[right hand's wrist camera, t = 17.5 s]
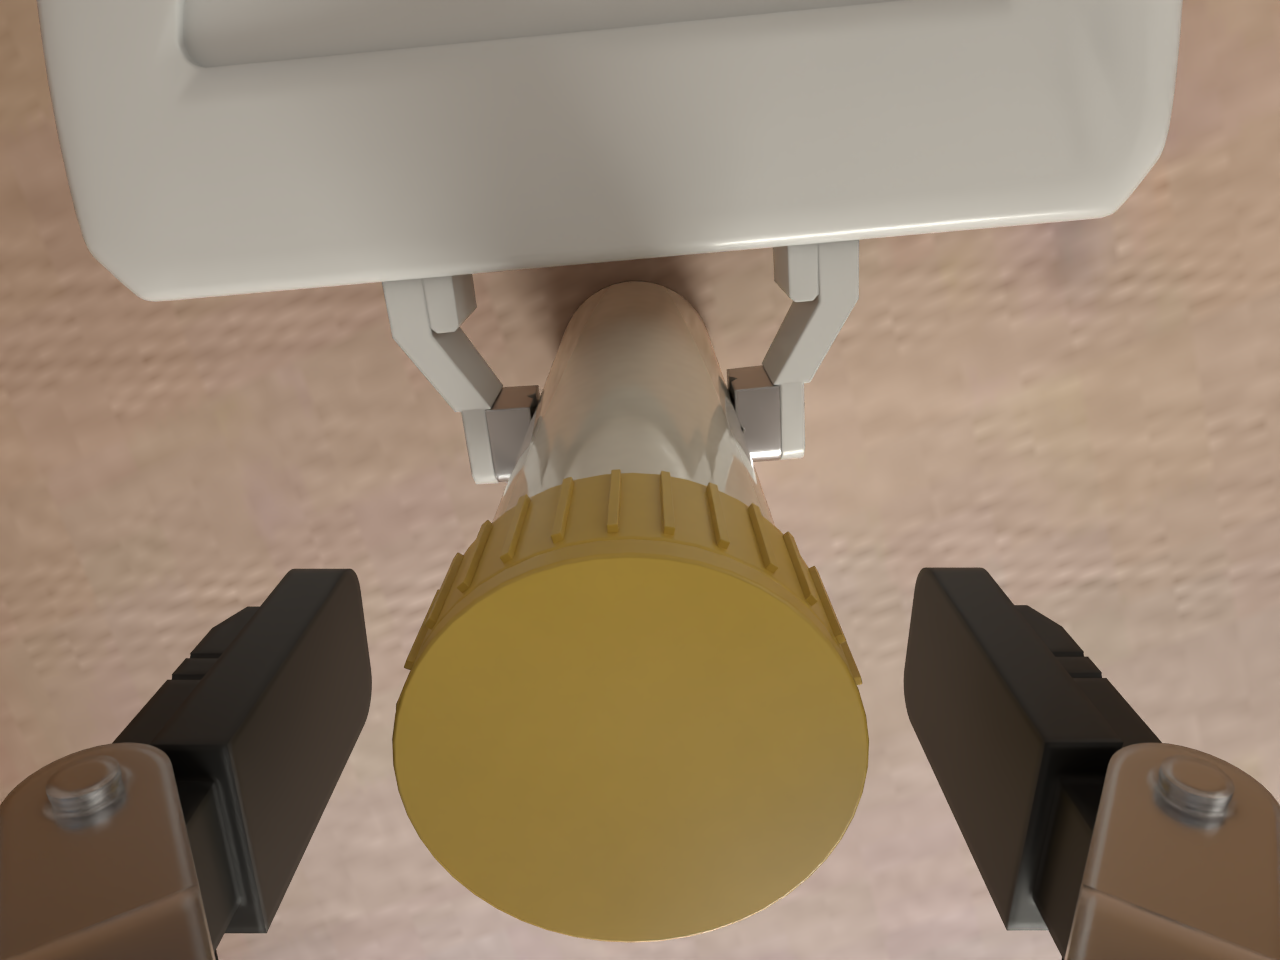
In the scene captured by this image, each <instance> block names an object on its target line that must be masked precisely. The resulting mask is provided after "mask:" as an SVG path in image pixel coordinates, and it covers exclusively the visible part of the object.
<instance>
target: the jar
mask: <svg viewBox="0 0 1280 960" xmlns="http://www.w3.org/2000/svg"><path fill="white" fill-rule="evenodd" d="M616 469H620V470H621V473H644V474H660V473H661V471H666V472H670V476H671V477H676V478H681V479H686V480H690V481H693V482H696V483H699V484H702V485H705V486H707V485H708V483H709V482H710V483H713V484H716V485H717V486H718V490H719V491H721V492H723V493H725V494H727V495H729V496H731V497H734V498H736V499H738V500H739V501H741V502H742V503H744V504H746V505H747V506H750V505H751V504H752V503H753V504H755V505H756V506H758V507H759V508H760V511H761V514H762V516H763V517H764V518H766V519H767V520H768V521H769V522H770V523H772V524H773V525H774V526H775V524H774V521H773V518H772V515H771V512H770V510H769V507H768V504H767V501H766V498H765V495H764V492H763V490H762V487H761V484H760V481H759V478H758V475H757V472H756V469H755V467H754V464H753V461H752V458H751V455H750V452H749V449H748V447H747V444H746V441H745V438H744V435H743V432H742V429H741V426H740V424H739V421H738V418H737V415H736V412H735V409H734V406H733V403H732V401H731V398H730V395H729V392H728V389H727V386H726V383H725V381H724V378H723V375H722V372H721V369H720V366H719V363H718V360H717V358H716V355H715V352H714V349H713V346H712V343H711V340H710V338H709V335H708V332H707V329H706V326H705V324H704V322H703V320H702V318H701V317H700V315H699V314H698V312H697V311H696V310H695V308H694V307H693V306H692V305H691V304H690V303H689V302H688V301H687V300H686V299H684V298H683V297H682V296H681V295H679V294H678V293H676V292H674V291H673V290H671V289H669V288H666V287H664V286H661V285H658V284H655V283H650V282H643V281H630V282H622V283H618V284H614V285H611V286H609V287H606V288H604V289H602V290H600V291H598V292H596V293H595V294H593V295H592V296H591V297H589V298H588V299H587V300H586V301H585V302H584V303H583V304H581V305H580V307H579V308H578V309H577V310H576V312H575V313H574V314H573V316H572V318H571V319H570V321H569V323H568V325H567V328H566V330H565V333H564V335H563V338H562V341H561V343H560V346H559V348H558V351H557V354H556V356H555V359H554V362H553V364H552V367H551V369H550V372H549V375H548V377H547V380H546V383H545V385H544V388H543V390H542V393H541V396H540V398H539V401H538V404H537V406H536V409H535V411H534V414H533V417H532V419H531V422H530V425H529V427H528V430H527V433H526V435H525V438H524V440H523V443H522V446H521V448H520V451H519V454H518V456H517V459H516V461H515V464H514V467H513V469H512V472H511V475H510V477H509V480H508V482H507V485H506V488H505V490H504V493H503V496H502V498H501V501H500V504H499V506H498V509H497V511H496V514H495V517H494V519H493V522H494V521H496V520H497V519H498V518H499V517H500V516H502V515H503V514H504V513H505V512H507V511H508V510H510V509H512V508H513V507H515V506H516V505H517V503H518V500H519V498H520V497H522V496H524V495H526V494H527V495H528V497H529V498H530V497H532V496H534V495H536V494H538V493H541V492H543V491H545V490H547V489H549V488H551V487H555V486H558V485H561V484H562V482H563V479H565V478H569V477H572V479H573V481H574V480H577V479H582V478H587V477H593V476H598V475H604V474H611V470H616ZM493 522H492V523H493Z"/></svg>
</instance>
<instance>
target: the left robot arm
mask: <svg viewBox="0 0 1280 960" xmlns="http://www.w3.org/2000/svg"><path fill="white" fill-rule="evenodd" d="M1182 3H1183V0H37V7H38V14H39V22H40V29H41V37H42V44H43V51H44V58H45V65H46V71H47V78H48V84H49V90H50V95H51V100H52V106H53V111H54V117H55V122H56V127H57V133H58V138H59V142H60V147H61V152H62V157H63V161H64V166H65V171H66V175H67V179H68V184H69V188H70V192H71V196H72V200H73V204H74V208H75V212H76V216H77V220H78V223H79V226H80V229H81V232H82V236H83V239H84V241H85V243H86V245H87V248H88V250H89V251H90V253H91V254H92V256H93V257H94V258H95V259H96V260H97V261H98V262H99V263H101V264H102V265H103V266H104V267H105V268H106V269H107V270H108V271H109V272H110V273H111V274H112V275H114V276H115V277H116V278H117V279H118V280H119V281H120V282H121V283H122V284H123V285H125V286H126V287H127V288H128V289H129V290H131V291H132V292H133V293H134V294H135V295H137V296H138V297H139V298H141V299H144V300H146V301H153V302H158V301H172V300H183V299H194V298H205V297H217V296H228V295H239V294H251V293H262V292H273V291H284V290H296V289H307V288H318V287H329V286H341V285H352V284H363V283H375V282H382V285H383V290H384V295H385V301H386V306H387V311H388V316H389V322H390V327H391V332H392V337H393V339H394V340H395V341H396V343H397V344H398V345H399V346H400V347H401V349H402V350H403V351H404V352H405V353H406V355H407V356H408V357H409V358H410V359H411V360H412V362H413V363H414V364H415V365H416V366H417V368H418V369H419V370H420V371H421V372H422V373H423V375H424V376H425V377H426V378H427V379H428V381H429V382H430V383H431V384H432V385H433V387H434V388H435V389H436V390H437V391H438V392H439V394H440V395H441V396H442V397H443V398H444V400H445V401H446V402H447V403H448V404H449V405H450V407H451V408H452V409H453V410H454V411H455V412H461V414H462V420H463V426H464V432H465V438H466V443H467V449H468V455H469V461H470V467H471V473H472V477H473V479H474V481H475V483H476V484H492V483H499V482H505V481H508V480H509V477H510V475H511V472H512V469H513V467H514V464H515V461H516V459H517V456H518V454H519V451H520V448H521V446H522V443H523V440H524V438H525V435H526V433H527V430H528V427H529V425H530V422H531V419H532V417H533V414H534V411H535V409H536V406H537V404H538V401H539V398H540V394H539V387H538V385H534V386H517V387H503V385H502V383H501V382H500V381H499V379H498V378H497V377H496V375H495V374H494V373H493V371H492V370H491V368H490V367H489V366H488V364H487V363H486V362H485V360H484V359H483V358H482V356H481V355H480V354H479V352H478V351H477V350H476V348H475V347H474V346H473V344H472V343H471V341H470V340H469V339H468V337H467V336H466V335H465V333H464V332H463V331H462V329H461V328H460V327H459V326H460V325H461V324H462V323H463V322H464V321H465V320H466V319H467V318H468V317H469V315H470V314H471V313H472V312H473V311H474V310H475V309H476V308H477V305H476V298H475V291H474V284H473V277H472V274H476V273H487V272H499V271H510V270H521V269H532V268H544V267H555V266H566V265H578V264H589V263H600V262H611V261H623V260H634V259H645V258H657V257H668V256H679V255H690V254H702V253H713V252H724V251H735V250H747V249H758V248H769V247H773V260H774V281H775V282H776V283H777V284H778V285H779V287H780V288H781V289H782V290H783V291H784V292H785V293H786V294H787V295H788V296H789V298H791V299H792V300H793V303H792V305H791V307H790V309H789V311H788V313H787V315H786V317H785V319H784V321H783V322H782V324H781V326H780V328H779V330H778V332H777V334H776V336H775V338H774V340H773V342H772V344H771V346H770V348H769V350H768V352H767V354H766V356H765V358H764V360H763V362H762V364H763V365H762V366H753V367H744V368H734V369H727V387H728V392H729V395H730V398H731V401H732V403H733V406H734V409H735V412H736V415H737V418H738V421H739V424H740V426H741V429H742V432H743V435H744V438H745V441H746V444H747V447H748V449H749V452H750V455H751V458H752V461H753V462H758V461H772V460H784V459H796V458H803V456H804V450H805V414H804V383H809V382H810V381H811V380H812V378H813V376H814V375H815V373H816V371H817V369H818V368H819V366H820V364H821V362H822V361H823V359H824V357H825V356H826V354H827V352H828V350H829V349H830V347H831V345H832V343H833V342H834V340H835V338H836V337H837V335H838V333H839V331H840V330H841V328H842V326H843V324H844V323H845V321H846V319H847V318H848V316H849V314H850V312H851V311H852V309H853V307H854V306H855V304H856V302H857V300H858V299H859V240H860V239H871V238H882V237H893V236H905V235H916V234H927V233H938V232H950V231H961V230H972V229H984V228H995V227H1006V226H1017V225H1029V224H1040V223H1051V222H1062V221H1073V220H1084V219H1095V218H1103V217H1106V216H1109V215H1111V214H1113V213H1114V212H1115V211H1117V210H1118V209H1119V208H1120V207H1121V206H1122V204H1123V203H1124V202H1125V201H1126V200H1127V199H1128V198H1129V197H1130V196H1131V194H1132V193H1133V192H1134V190H1135V189H1136V188H1137V187H1138V185H1139V184H1140V183H1141V182H1142V180H1143V179H1144V178H1145V176H1146V175H1147V174H1148V172H1149V171H1150V170H1151V169H1152V167H1153V166H1154V165H1155V163H1156V162H1157V161H1158V159H1159V157H1160V155H1161V153H1162V151H1163V149H1164V146H1165V142H1166V138H1167V135H1168V131H1169V126H1170V120H1171V113H1172V107H1173V99H1174V92H1175V83H1176V74H1177V64H1178V53H1179V43H1180V31H1181V17H1182Z"/></svg>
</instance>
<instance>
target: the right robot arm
mask: <svg viewBox="0 0 1280 960" xmlns="http://www.w3.org/2000/svg"><path fill="white" fill-rule="evenodd" d="M1083 653H1084V652H1083V650H1082V649H1081V648H1080V647H1079V646H1078V645H1077V643H1076V642H1075V641H1074V640H1073V639H1072V638H1071V637H1070V635H1069V634H1068V633H1067V632H1066V631H1065V630H1064V628H1063V627H1062V626H1060V625H1058V624H1057V623H1055V622H1054V621H1052V620H1050V619H1049V618H1047V617H1045V616H1044V615H1042V614H1040V613H1039V612H1037V611H1036V610H1034V609H1032V608H1031V607H1029V606H1027V605H1014V604H1013V603H1012V602H1011V601H1010V599H1009V598H1008V597H1007V596H1006V594H1005V593H1004V592H1003V591H1002V589H1001V588H1000V587H999V586H998V584H997V583H996V582H995V581H994V579H993V578H992V577H991V576H990V574H989V573H988V572H987V571H986V570H985V569H983V568H923V569H922V570H921V571H920V573H919V574H918V577H917V580H916V585H915V592H914V599H913V607H912V615H911V623H910V630H909V638H908V646H907V654H906V662H905V669H904V695H905V703H906V708H907V712H908V716H909V719H910V722H911V724H912V726H913V728H914V730H915V733H916V735H917V737H918V739H919V741H920V743H921V746H922V748H923V750H924V752H925V754H926V756H927V759H928V761H929V763H930V765H931V767H932V769H933V772H934V774H935V776H936V778H937V780H938V782H939V785H940V787H941V789H942V791H943V793H944V795H945V797H946V800H947V802H948V804H949V806H950V808H951V810H952V813H953V815H954V817H955V819H956V821H957V823H958V826H959V828H960V830H961V832H962V834H963V836H964V839H965V841H966V843H967V845H968V847H969V849H970V852H971V854H972V856H973V858H974V860H975V862H976V865H977V867H978V869H979V871H980V873H981V875H982V878H983V880H984V882H985V884H986V886H987V888H988V891H989V893H990V895H991V897H992V899H993V901H994V904H995V906H996V908H997V910H998V912H999V914H1000V917H1001V919H1002V921H1003V923H1004V925H1005V927H1006V929H1007V930H1049V932H1050V934H1051V936H1052V938H1053V940H1054V942H1055V944H1056V946H1057V948H1058V950H1059V952H1060V953H1061V955H1062V960H1280V806H1279V804H1278V802H1277V801H1276V800H1275V798H1274V797H1273V796H1272V794H1271V793H1270V792H1269V791H1268V790H1267V789H1266V788H1265V787H1264V786H1263V785H1262V784H1260V783H1259V782H1258V781H1256V780H1255V779H1254V778H1253V777H1251V776H1250V775H1248V774H1247V773H1245V772H1244V771H1242V770H1241V769H1239V768H1237V767H1235V766H1233V765H1232V764H1230V763H1228V762H1226V761H1224V760H1221V759H1219V758H1217V757H1215V756H1212V755H1210V754H1207V753H1204V752H1201V751H1198V750H1195V749H1191V748H1187V747H1184V746H1179V745H1173V744H1166V743H1162V742H1161V741H1160V740H1159V739H1158V738H1157V736H1156V735H1155V734H1154V733H1153V732H1152V731H1151V729H1150V728H1149V727H1148V726H1147V725H1146V724H1145V722H1144V721H1143V720H1142V719H1141V718H1140V717H1139V716H1138V714H1137V713H1136V712H1135V711H1134V710H1133V709H1132V707H1131V706H1130V705H1129V704H1128V703H1127V702H1126V700H1125V699H1124V698H1123V697H1122V696H1121V695H1120V693H1119V692H1118V691H1117V690H1116V689H1115V688H1114V686H1113V685H1112V684H1111V683H1110V682H1109V681H1108V680H1107V678H1102V675H1101V674H1102V673H1101V671H1100V670H1099V669H1098V668H1097V667H1096V666H1095V664H1094V663H1093V662H1092V661H1091V660H1090V659H1089V657H1084V654H1083ZM190 654H191V656H190V658H186V659H185V660H184V661H183V662H182V664H181V665H180V666H179V667H178V668H177V669H176V671H175V672H174V673H173V674H172V680H167V681H166V682H165V683H164V684H163V685H162V687H161V688H160V689H159V690H158V691H157V692H156V694H155V695H154V696H153V697H152V698H151V699H150V700H149V702H148V703H147V704H146V705H145V706H144V707H143V708H142V710H141V711H140V712H139V713H138V714H137V715H136V717H135V718H134V719H133V720H132V721H131V722H130V723H129V725H128V726H127V727H126V728H125V729H124V730H123V731H122V733H121V734H120V735H119V736H118V737H117V738H116V740H115V741H114V742H113V743H112V744H107V745H101V746H96V747H93V748H89V749H85V750H82V751H79V752H76V753H73V754H70V755H68V756H65V757H63V758H61V759H58V760H56V761H54V762H52V763H50V764H48V765H47V766H45V767H43V768H41V769H39V770H38V771H36V772H35V773H33V774H32V775H30V776H29V777H27V778H26V779H25V780H24V781H22V782H21V783H20V784H18V785H17V786H16V787H15V788H14V789H13V790H12V791H11V792H10V793H9V794H8V796H7V797H6V798H5V800H4V801H3V802H2V804H1V806H0V960H218V956H217V952H216V948H217V946H218V944H219V942H220V941H221V939H222V937H223V935H224V933H267V931H268V929H269V927H270V925H271V923H272V920H273V918H274V916H275V914H276V912H277V910H278V908H279V905H280V903H281V901H282V899H283V897H284V895H285V893H286V891H287V888H288V886H289V884H290V882H291V880H292V878H293V876H294V873H295V871H296V869H297V867H298V865H299V863H300V861H301V859H302V856H303V854H304V852H305V850H306V848H307V846H308V844H309V841H310V839H311V837H312V835H313V833H314V831H315V829H316V827H317V824H318V822H319V820H320V818H321V816H322V814H323V812H324V809H325V807H326V805H327V803H328V801H329V799H330V797H331V795H332V792H333V790H334V788H335V786H336V784H337V782H338V780H339V777H340V775H341V773H342V771H343V769H344V767H345V765H346V763H347V760H348V758H349V756H350V754H351V752H352V750H353V748H354V745H355V743H356V741H357V739H358V737H359V735H360V733H361V731H362V728H363V726H364V724H365V722H366V719H367V716H368V712H369V707H370V701H371V690H372V676H371V667H370V659H369V651H368V644H367V636H366V629H365V621H364V613H363V606H362V598H361V590H360V584H359V581H358V578H357V575H356V573H355V572H354V571H353V570H352V569H292V570H290V571H289V572H288V573H287V574H286V575H285V577H284V578H283V579H282V580H281V581H280V583H279V584H278V585H277V586H276V588H275V589H274V590H273V591H272V593H271V594H270V595H269V596H268V598H267V599H266V600H265V601H264V603H263V604H262V605H261V606H260V607H246V608H245V609H243V610H241V611H240V612H238V613H236V614H235V615H233V616H231V617H230V618H228V619H227V620H225V621H223V622H222V623H220V624H218V625H217V626H215V627H213V628H212V629H211V630H210V631H209V633H208V634H207V635H206V636H205V637H204V638H203V639H202V641H201V642H200V643H199V644H198V645H197V646H196V648H195V649H194V650H193V651H192V652H191V653H190Z"/></svg>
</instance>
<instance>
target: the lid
mask: <svg viewBox="0 0 1280 960" xmlns="http://www.w3.org/2000/svg"><path fill="white" fill-rule="evenodd" d="M404 668H406V669H409V670H411V671H410V673H409V675H408V677H407V680H406V682H405V684H404V687H403V690H402V692H401V694H400V697H399V699H398V701H397V704H396V714H395V722H394V730H393V738H392V743H393V765H394V770H395V775H396V780H397V785H398V790H399V793H400V796H401V799H402V802H403V804H404V807H405V810H406V812H407V815H408V817H409V819H410V821H411V823H412V824H413V826H414V828H415V830H416V832H417V834H418V835H419V837H420V839H421V840H422V841H423V843H424V844H425V846H426V847H427V848H428V850H429V851H430V852H431V854H432V855H433V856H434V858H435V859H436V860H437V861H438V862H439V863H440V864H441V865H442V866H443V867H444V868H445V869H446V870H447V871H448V872H449V873H450V874H451V876H452V877H453V878H455V879H456V880H457V881H458V882H460V883H461V884H462V885H463V886H465V887H466V888H467V889H468V890H470V891H471V892H472V893H473V894H475V895H476V896H478V897H479V898H481V899H482V900H484V901H486V902H487V903H489V904H490V905H492V906H494V907H495V908H497V909H499V910H501V911H503V912H505V913H507V914H509V915H511V916H513V917H515V918H517V919H519V920H521V921H524V922H527V923H529V924H532V925H535V926H538V927H540V928H543V929H546V930H549V931H553V932H557V933H561V934H565V935H569V936H573V937H579V938H585V939H592V940H599V941H611V942H630V943H631V942H653V941H664V940H671V939H678V938H685V937H689V936H693V935H698V934H702V933H706V932H710V931H714V930H717V929H719V928H722V927H725V926H728V925H730V924H733V923H736V922H739V921H741V920H743V919H745V918H747V917H749V916H752V915H754V914H756V913H758V912H760V911H762V910H764V909H766V908H767V907H769V906H770V905H772V904H774V903H775V902H777V901H778V900H780V899H782V898H783V897H785V896H786V895H788V894H789V893H790V892H792V891H793V890H794V889H795V888H797V887H798V886H799V885H800V884H801V883H803V882H804V881H805V880H806V879H808V878H809V877H810V876H811V875H812V874H813V873H814V872H815V871H816V869H817V868H818V867H819V866H820V865H821V864H822V863H823V862H824V861H825V860H826V859H827V858H828V856H829V855H830V854H831V852H832V851H833V850H834V848H835V847H836V846H837V844H838V843H839V842H840V840H841V839H842V837H843V835H844V833H845V832H846V830H847V828H848V826H849V824H850V822H851V821H852V819H853V817H854V814H855V812H856V809H857V806H858V803H859V801H860V798H861V795H862V792H863V788H864V783H865V778H866V773H867V768H868V751H869V737H868V729H867V721H866V714H865V710H864V707H863V704H862V700H861V697H860V693H859V690H858V687H857V685H861V684H862V680H861V676H860V674H859V671H858V669H857V666H856V664H855V661H854V659H853V657H852V654H851V652H850V649H849V647H848V644H847V642H846V639H845V636H844V634H843V631H842V629H841V627H840V624H839V622H838V619H837V617H836V614H835V612H834V609H833V607H832V605H831V602H830V600H829V597H828V595H827V592H826V590H825V588H824V585H823V583H822V580H821V578H820V575H819V573H818V571H817V569H816V567H815V566H813V567H811V568H808V566H807V565H806V563H805V562H804V560H803V559H802V557H801V556H800V553H799V550H798V548H797V545H796V543H795V540H794V537H793V536H792V535H791V534H790V533H789V532H786V533H785V534H784V535H783V534H782V533H781V531H780V530H779V529H777V528H776V527H775V526H774V525H773V524H772V523H770V522H769V521H768V520H767V519H766V518H764V517H763V516H762V514H761V511H760V508H759V507H758V506H756V505H755V504H753V503H752V504H751V505H750V506H747V505H746V504H744V503H742V502H741V501H739V500H738V499H736V498H734V497H731V496H729V495H727V494H725V493H723V492H721V491H719V490H718V486H717V485H716V484H713V483H710V482H709V483H708V485H707V486H705V485H702V484H699V483H696V482H693V481H690V480H686V479H681V478H676V477H671V476H670V472H666V471H661V473H660V474H644V473H621V470H620V469H616V470H611V474H604V475H598V476H593V477H587V478H582V479H577V480H574V481H573V479H572V477H569V478H565V479H563V482H562V484H561V485H558V486H555V487H551V488H549V489H547V490H545V491H543V492H541V493H538V494H536V495H534V496H532V497H530V498H529V497H528V495H527V494H526V495H524V496H522V497H520V498H519V500H518V503H517V505H516V506H515V507H513V508H512V509H510V510H508V511H507V512H505V513H504V514H503V515H502V516H500V517H499V518H498V519H497V520H496V521H494V522H493V523H491V522H490V521H489V520H487V521H486V522H485V523H484V524H482V526H481V529H480V531H479V533H478V536H477V538H476V540H475V541H474V542H473V543H472V545H471V546H470V547H469V548H468V550H467V551H466V552H465V554H464V555H462V554H460V553H457V554H456V556H455V557H454V559H453V561H452V563H451V565H450V568H449V570H448V572H447V575H446V577H445V579H444V581H443V584H442V586H441V588H440V590H437V592H436V595H435V597H434V599H433V601H432V604H431V606H430V608H429V610H428V613H427V615H426V617H425V619H424V622H423V624H422V626H421V628H420V631H419V633H418V635H417V637H416V640H415V642H414V644H413V646H412V649H411V651H410V653H409V655H408V658H407V660H406V663H405V665H404Z"/></svg>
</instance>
